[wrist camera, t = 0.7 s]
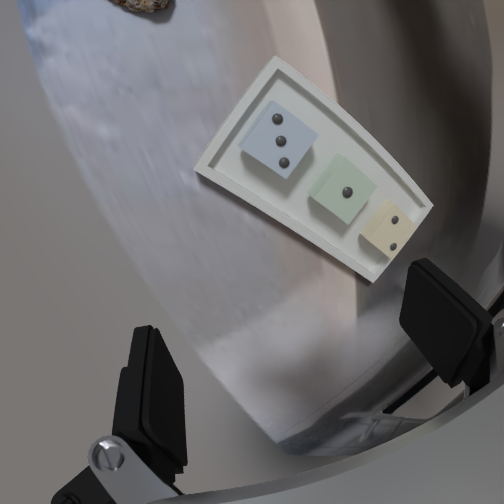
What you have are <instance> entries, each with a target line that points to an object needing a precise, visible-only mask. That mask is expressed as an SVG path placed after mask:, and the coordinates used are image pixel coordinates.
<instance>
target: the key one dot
mask: <svg viewBox="0 0 504 504" xmlns="http://www.w3.org/2000/svg"><path fill="white" fill-rule="evenodd" d="M376 188H377V186H376V185H375V184H374V183H373V182H372V181H371V180H370V179H369V178H368V177H367V176H366V175H365V174H364V173H363V172H361V171H360V170H359V169H358V168H357V167H356V166H355V165H354V164H353V163H351V162H350V161H349V160H348V159H347V158H346V157H344V156H342V155H340V154H337V153H336V155H335V156H334V157H333V159H332V160H331V161H330V163H329V164H328V165H327V167H326V168H325V170H324V171H323V172H322V174H321V175H320V176H319V178H318V179H317V180H316V182H315V183H314V184H313V186H312V187H311V188H310V190H309V191H308V192H307V193H308V194H309V195H310V196H311V197H312V198H313V199H315V200H316V201H317V202H319V203H320V204H321V205H323V206H324V207H326V208H327V209H328V210H330V211H331V212H332V213H334V214H335V215H336V216H337V217H339V218H340V219H341V220H343V221H344V222H345V223H347V224H348V225H349V224H350V222H351V221H352V220H353V218H354V217H355V216H356V215H357V213H358V212H359V211H360V209H361V208H362V207H363V205H364V204H365V203H366V201H367V200H368V199H369V197H370V196H371V195H372V193H373V192H374V191H375V189H376Z"/></svg>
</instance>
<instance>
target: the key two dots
mask: <svg viewBox="0 0 504 504" xmlns="http://www.w3.org/2000/svg"><path fill="white" fill-rule="evenodd" d="M416 228H417V226H416V225H415V224H414V223H413V222H412V221H411V220H410V219H409V218H408V217H407V216H406V215H405V214H404V213H403V212H402V210H401V209H400V208H399V207H398V206H397V205H396V204H394V203H393V202H391V201H389V200H388V199H386V200H385V201H384V202H383V204H382V205H381V206H380V208H379V209H378V210H377V212H376V213H375V214H374V216H373V217H372V218H371V220H370V221H369V222H368V223H367V225H366V226H365V227H364V229H363V230H362V231H361V232H360V233H361V234H362V235H363V236H364V237H365V238H366V239H367V240H368V241H369V242H371V243H372V244H373V245H374V246H376V247H377V248H378V249H379V250H381V251H382V252H383V253H384V254H385V255H387V256H388V257H389V258H390V259H391V260H392V259H393V258H394V257H395V256H396V254H397V253H398V252H399V251H400V249H401V248H402V247H403V245H404V244H405V243H406V242H407V240H408V239H409V238H410V236H411V235H412V234H413V232H414V231H415V230H416Z"/></svg>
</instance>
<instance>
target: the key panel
mask: <svg viewBox="0 0 504 504" xmlns="http://www.w3.org/2000/svg"><path fill="white" fill-rule="evenodd" d="M269 101H275V102H276V103H278V104H279V105H281V106H282V107H283V108H285V109H286V110H287V111H289V112H290V113H291V114H293V115H294V116H295V117H297V118H298V119H299V120H301V121H302V122H303V123H305V124H306V125H307V126H308V127H310V128H311V129H312V130H313V131H315V132H316V133H317V134H318V135H319V136H318V137H317V139H316V140H315V141H314V143H313V144H312V145H311V147H310V148H309V149H308V151H307V152H306V153H305V155H304V156H303V157H302V159H301V160H300V162H299V163H298V164H297V166H296V167H295V168H294V170H293V171H292V172H291V174H290V175H289V176H288V178H287V179H285V178H284V177H282V176H281V175H279V174H278V173H276V172H275V171H274V170H272V169H271V168H269V167H268V166H266V165H265V164H263V163H262V162H260V161H259V160H257V159H256V158H254V157H253V156H251V155H250V154H248V153H246V152H245V151H243V150H242V149H240V148H239V147H238V146H237V145H238V144H239V142H240V141H241V139H242V138H243V137H244V135H245V134H246V132H247V131H248V130H249V128H250V127H251V125H252V124H253V123H254V121H255V120H256V119H257V117H258V116H259V114H260V113H261V112H262V110H263V109H264V108H265V106H266V105H267V104H268V102H269ZM336 153H337V154H340V155H342V156H344V157H346V158H347V159H348V160H349V161H350V162H351V163H353V164H354V165H355V166H356V167H357V168H358V169H359V170H360V171H361V172H363V173H364V174H365V175H366V176H367V177H368V178H369V179H370V180H371V181H372V182H373V183H374V184H375V185H376V186H377V188H376V189H375V191H374V192H373V193H372V195H371V196H370V197H369V199H368V200H367V201H366V203H365V204H364V205H363V207H362V208H361V209H360V211H359V212H358V213H357V215H356V216H355V217H354V218H353V220H352V221H351V222H350V224H349V225H348V224H347V223H345V222H344V221H343V220H341V219H340V218H339V217H337V216H336V215H335V214H334V213H332V212H331V211H330V210H328V209H327V208H326V207H324V206H323V205H321V204H320V203H319V202H317V201H316V200H315V199H313V198H312V197H311V196H310V195H309V194H308V193H307V192H308V191H309V190H310V188H311V187H312V186H313V184H314V183H315V182H316V180H317V179H318V178H319V176H320V175H321V174H322V172H323V171H324V170H325V168H326V167H327V165H328V164H329V163H330V161H331V160H332V159H333V157H334V156H335V155H336ZM193 170H195V171H196V172H198V173H200V174H202V175H203V176H205V177H207V178H208V179H210V180H212V181H213V182H215V183H217V184H218V185H220V186H222V187H224V188H225V189H227V190H229V191H230V192H232V193H234V194H235V195H237V196H238V197H240V198H242V199H243V200H245V201H247V202H248V203H250V204H252V205H253V206H255V207H257V208H258V209H260V210H261V211H263V212H265V213H266V214H268V215H269V216H271V217H273V218H274V219H276V220H277V221H279V222H281V223H282V224H284V225H285V226H287V227H289V228H290V229H292V230H293V231H295V232H296V233H298V234H300V235H301V236H303V237H304V238H306V239H307V240H309V241H310V242H312V243H314V244H315V245H317V246H318V247H320V248H321V249H323V250H324V251H326V252H327V253H329V254H330V255H332V256H333V257H335V258H336V259H338V260H339V261H341V262H343V263H344V264H346V265H347V266H349V267H350V268H352V269H353V270H354V271H356V272H357V273H359V274H360V275H362V276H363V277H365V278H366V279H368V280H369V281H371V282H372V283H374V282H375V280H376V279H377V278H378V277H379V276H380V274H381V273H382V272H383V271H384V270H385V268H386V267H387V266H388V265H389V264H390V262H391V261H392V260H393V259H394V258H393V259H392V260H391V259H390V258H389V257H388V256H387V255H385V254H384V253H383V252H382V251H381V250H379V249H378V248H377V247H376V246H374V245H373V244H372V243H371V242H369V241H368V240H367V239H366V238H365V237H364V236H363V235H362V234H361V233H360V232H361V231H362V230H363V229H364V227H365V226H366V225H367V223H368V222H369V221H370V220H371V218H372V217H373V216H374V214H375V213H376V212H377V210H378V209H379V208H380V206H381V205H382V204H383V202H384V201H385V200H386V199H388V200H389V201H391V202H393V203H394V204H396V205H397V206H398V207H399V208H400V209H401V210H402V212H403V213H404V214H405V215H406V216H407V217H408V218H409V219H410V220H411V221H412V222H413V223H414V224H415V225H416V226H417V228H418V226H419V225H420V223H421V222H422V221H423V219H424V218H425V217H426V215H427V214H428V212H429V211H430V210H431V208H432V207H433V204H432V203H431V201H430V200H429V199H428V198H427V196H426V195H425V194H424V193H423V192H422V190H421V189H420V188H419V187H418V186H417V184H416V183H415V182H414V181H413V180H412V179H411V177H410V176H409V175H408V174H407V173H406V172H405V171H404V169H403V168H402V167H401V166H400V165H399V164H398V163H397V162H396V161H395V159H394V158H393V157H392V156H391V155H390V154H389V153H388V152H387V151H386V150H385V149H384V148H383V147H382V146H381V145H380V144H379V143H378V142H377V141H376V140H375V139H374V138H373V137H372V136H371V135H370V134H369V133H368V132H367V131H366V130H365V129H364V128H363V127H362V126H361V125H360V124H359V123H358V122H357V121H356V120H355V119H354V118H352V117H351V116H350V115H349V114H348V113H347V112H346V111H345V110H344V109H343V108H341V107H340V106H339V105H338V104H337V103H336V102H335V101H333V100H332V99H331V98H330V97H329V96H328V95H326V94H325V93H324V92H323V91H322V90H320V89H319V88H318V87H317V86H316V85H314V84H313V83H312V82H311V81H309V80H308V79H307V78H305V77H304V76H303V75H302V74H300V73H299V72H298V71H296V70H295V69H294V68H292V67H291V66H290V65H288V64H287V63H286V62H284V61H283V60H281V59H280V58H279V57H277V56H276V55H275V56H273V57H272V58H270V59H269V61H268V62H267V63H266V64H265V66H264V67H263V68H262V69H261V71H260V72H259V73H258V75H257V76H256V77H255V78H254V80H253V81H252V82H251V84H250V85H249V86H248V88H247V89H246V90H245V92H244V93H243V94H242V96H241V97H240V98H239V100H238V101H237V102H236V104H235V105H234V107H233V108H232V109H231V111H230V112H229V114H228V115H227V116H226V118H225V119H224V121H223V122H222V124H221V125H220V126H219V128H218V129H217V131H216V132H215V134H214V135H213V137H212V138H211V140H210V141H209V143H208V144H207V146H206V147H205V149H204V150H203V152H202V153H201V155H200V156H199V158H198V159H197V161H196V162H195V164H194V166H193ZM417 228H416V229H417ZM414 232H415V231H414ZM414 232H413V233H414ZM411 236H412V235H411ZM411 236H410V237H411ZM407 241H408V240H407ZM404 245H405V244H404ZM404 245H403V246H404ZM400 250H401V249H400ZM397 254H398V253H397ZM397 254H396V255H397Z"/></svg>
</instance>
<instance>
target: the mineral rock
mask: <svg viewBox="0 0 504 504" xmlns="http://www.w3.org/2000/svg"><path fill="white" fill-rule="evenodd" d="M112 1H114V2H116V3H119V5H120V6H127V7H128V8H129V10H130V11H132V12H137V13H138V12H140V11H145V12H149V13H152V12H154V10H155V9H161V10H165V9H167V7H168V2H169V0H112Z"/></svg>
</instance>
